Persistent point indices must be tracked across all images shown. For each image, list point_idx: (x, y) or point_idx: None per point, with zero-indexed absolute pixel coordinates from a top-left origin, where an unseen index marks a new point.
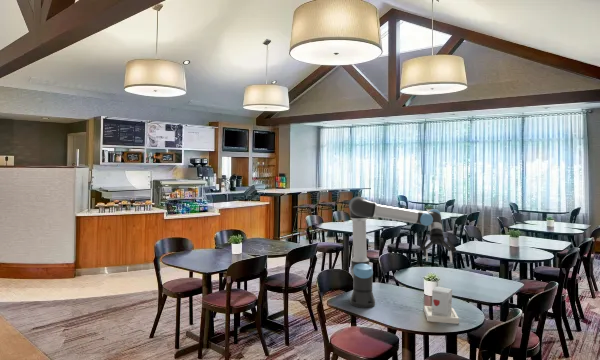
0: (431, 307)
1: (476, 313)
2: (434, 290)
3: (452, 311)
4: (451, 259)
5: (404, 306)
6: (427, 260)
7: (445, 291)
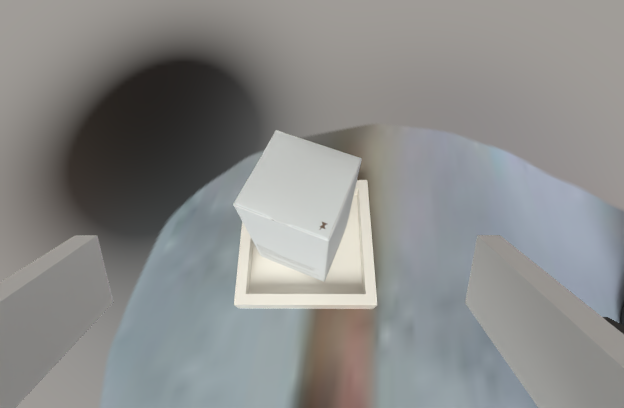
0: (342, 294)
1: (123, 335)
2: (349, 154)
3: (248, 268)
4: (82, 239)
5: (473, 356)
6: (471, 285)
7: (287, 146)
